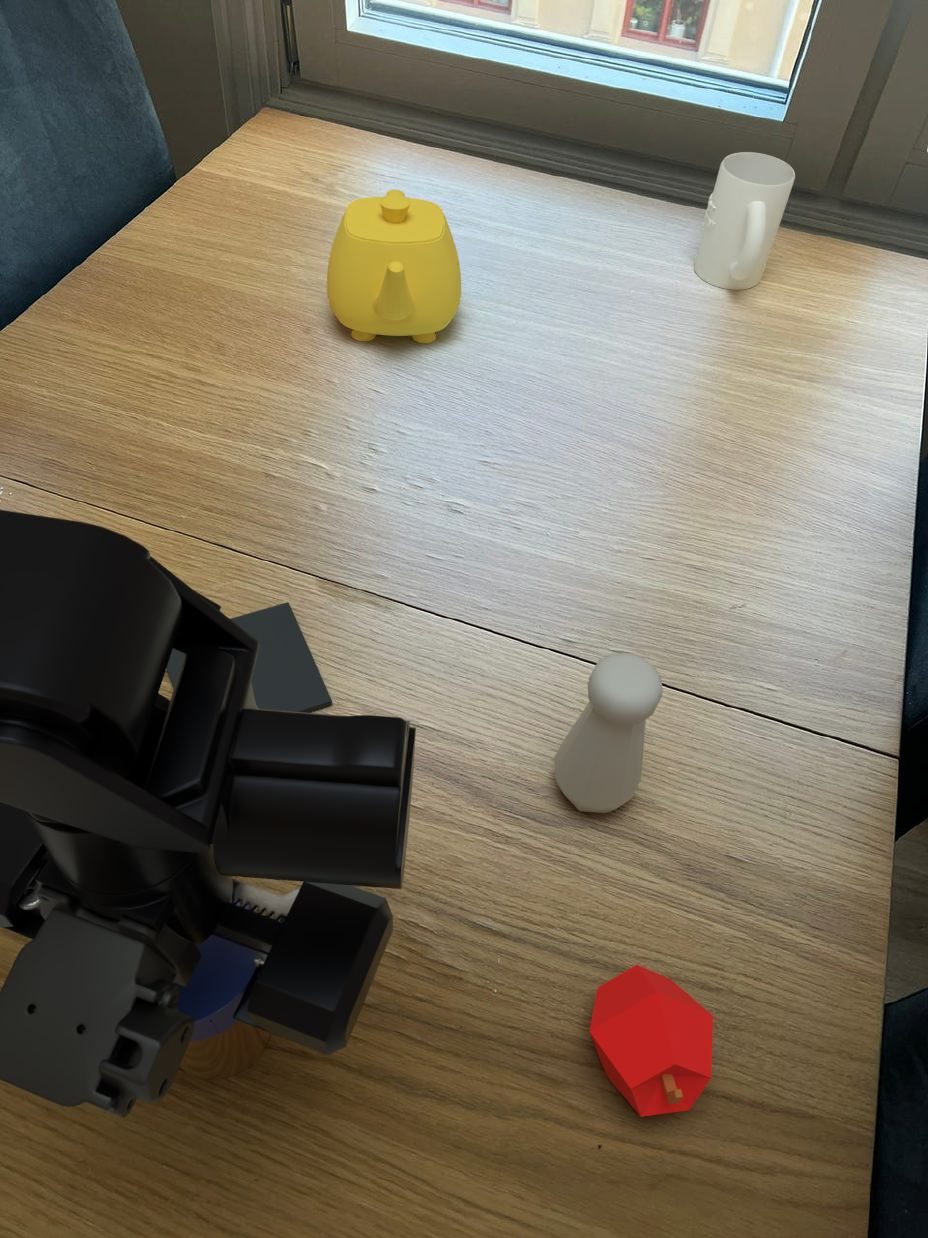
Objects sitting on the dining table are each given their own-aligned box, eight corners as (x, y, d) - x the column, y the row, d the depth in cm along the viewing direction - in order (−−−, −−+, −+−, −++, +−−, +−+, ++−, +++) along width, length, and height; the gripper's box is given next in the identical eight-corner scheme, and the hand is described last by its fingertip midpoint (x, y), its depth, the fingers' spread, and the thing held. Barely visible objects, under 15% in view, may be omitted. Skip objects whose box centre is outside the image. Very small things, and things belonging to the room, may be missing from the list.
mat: (193, 751, 64) (191, 746, 63) (159, 644, 69) (157, 639, 69) (332, 705, 67) (332, 700, 66) (289, 606, 72) (288, 601, 72)
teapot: (456, 277, 105) (463, 161, 95) (463, 385, 92) (472, 265, 82) (332, 272, 104) (327, 155, 94) (322, 381, 91) (314, 259, 81)
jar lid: (287, 1005, 45) (282, 985, 43) (145, 1070, 43) (132, 1053, 41) (242, 882, 49) (236, 858, 47) (110, 936, 47) (96, 913, 45)
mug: (698, 305, 104) (728, 199, 95) (688, 251, 112) (715, 148, 103) (771, 312, 104) (808, 207, 95) (756, 257, 112) (789, 155, 103)
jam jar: (179, 1099, 50) (140, 1041, 42) (154, 993, 53) (113, 921, 45) (288, 1051, 52) (270, 987, 44) (256, 952, 55) (234, 876, 47)
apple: (587, 934, 52) (630, 1064, 45) (699, 939, 53) (757, 1065, 46) (555, 1018, 55) (591, 1151, 48) (661, 1021, 56) (711, 1150, 49)
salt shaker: (534, 765, 65) (561, 650, 55) (607, 740, 66) (646, 624, 56) (573, 837, 61) (610, 729, 51) (648, 809, 63) (698, 698, 53)
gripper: (-253, 936, 31) (-74, 1066, 43) (261, 1152, 28) (299, 1227, 40) (-32, 681, 38) (69, 855, 50) (399, 831, 35) (396, 977, 47)
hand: (197, 970), depth 46 cm, fingers open, 7 cm apart
